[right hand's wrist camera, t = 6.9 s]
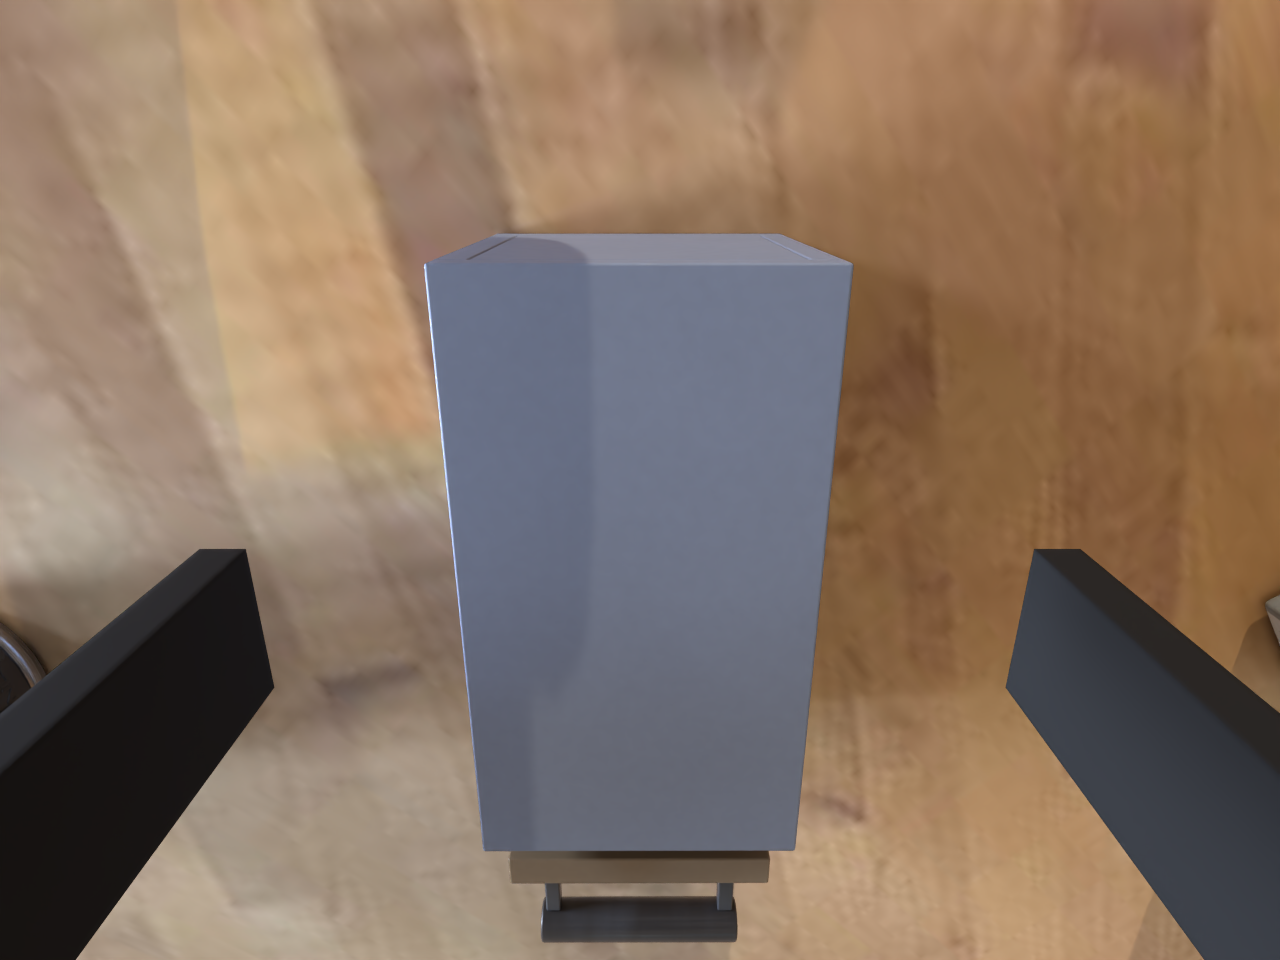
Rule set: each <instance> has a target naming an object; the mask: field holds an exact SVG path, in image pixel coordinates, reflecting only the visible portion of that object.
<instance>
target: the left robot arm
mask: <svg viewBox="0 0 1280 960" xmlns="http://www.w3.org/2000/svg"><path fill="white" fill-rule="evenodd" d="M45 676H46V674H45V672H44V670H43V668H42V666H41V664H40V663H39V661H38V660H37V658H36V657H35V655H34V654H33V653H32V651H31V650H30V649H29V648H28V646H27V645H26V644H25V643H24V642H23V641H22V640H21V639H20V638H19V637H18V636H17V635H16V634H15V633H14V632H12V631H11V630H10V629H9V628H7V627H6V626H5V625H4V624H2V623H1V622H0V713H1V712H3V711H4V710H5V709H6V708H8V707H9V706H10V705H11V704H12V703H14V702H15V701H16V700H17V699H18V698H20V697H21V696H22V695H23V694H25V693H26V692H27V691H28V690H29V689H31V688H32V687H33V686H34V685H35V684H37V683H38V682H39V681H40V680H42V679H43V678H44V677H45Z"/></svg>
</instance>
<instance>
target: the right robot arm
mask: <svg viewBox="0 0 1280 960" xmlns="http://www.w3.org/2000/svg"><path fill="white" fill-rule="evenodd" d="M273 689H274V684H273V679H272V674H271V669H270V664H269V659H268V655H267V650H266V645H265V640H264V635H263V630H262V626H261V621H260V616H259V611H258V606H257V601H256V596H255V592H254V587H253V582H252V577H251V572H250V567H249V563H248V558H247V553H246V549H199V550H198V551H197V552H196V553H194V554H193V555H192V556H191V557H190V558H188V559H187V560H186V561H185V562H183V563H182V564H181V565H180V566H179V567H177V568H176V569H175V570H174V571H173V572H171V573H170V574H169V575H168V576H166V577H165V578H164V579H163V580H162V581H160V582H159V583H158V584H157V585H156V586H154V587H153V588H152V589H151V590H149V591H148V592H147V593H146V594H145V595H143V596H142V597H141V598H140V599H139V600H137V601H136V602H135V603H134V604H133V605H131V606H130V607H129V608H128V609H126V610H125V611H124V612H123V613H122V614H120V615H119V616H118V617H117V618H116V619H114V620H113V621H112V622H111V623H109V624H108V625H107V626H106V627H105V628H103V629H102V630H101V631H100V632H99V633H97V634H96V635H95V636H94V637H92V638H91V639H90V640H89V641H88V642H86V643H85V644H84V645H83V646H82V647H80V648H79V649H78V650H77V651H75V652H74V653H73V654H72V655H71V656H69V657H68V658H67V659H66V660H65V661H63V662H62V663H61V664H60V665H59V666H57V667H56V668H55V669H54V670H52V671H51V672H50V673H49V674H48V675H46V676H45V677H44V678H43V679H42V680H40V681H39V682H38V683H37V684H35V685H34V686H33V687H32V688H31V689H29V690H28V691H27V692H26V693H25V694H23V695H22V696H21V697H20V698H18V699H17V700H16V701H15V702H14V703H12V704H11V705H10V706H9V707H8V708H6V709H5V710H4V711H3V712H1V713H0V960H76V959H77V957H78V956H79V954H80V953H81V952H82V950H83V949H84V948H85V946H86V945H87V944H88V942H89V941H90V939H91V938H92V937H93V935H94V934H95V933H96V931H97V930H98V928H99V927H100V926H101V924H102V923H103V922H104V920H105V919H106V917H107V916H108V915H109V913H110V912H111V911H112V909H113V908H114V907H115V905H116V904H117V902H118V901H119V900H120V898H121V897H122V896H123V894H124V893H125V891H126V890H127V889H128V887H129V886H130V885H131V883H132V882H133V880H134V879H135V878H136V876H137V875H138V874H139V872H140V871H141V870H142V868H143V867H144V865H145V864H146V863H147V861H148V860H149V859H150V857H151V856H152V854H153V853H154V852H155V850H156V849H157V848H158V846H159V845H160V843H161V842H162V841H163V839H164V838H165V837H166V835H167V834H168V832H169V831H170V830H171V828H172V827H173V826H174V824H175V823H176V822H177V820H178V819H179V817H180V816H181V815H182V813H183V812H184V811H185V809H186V808H187V806H188V805H189V804H190V802H191V801H192V800H193V798H194V797H195V795H196V794H197V793H198V791H199V790H200V789H201V787H202V786H203V785H204V783H205V782H206V780H207V779H208V778H209V776H210V775H211V774H212V772H213V771H214V769H215V768H216V767H217V765H218V764H219V763H220V761H221V760H222V758H223V757H224V756H225V754H226V753H227V752H228V750H229V749H230V748H231V746H232V745H233V743H234V742H235V741H236V739H237V738H238V737H239V735H240V734H241V732H242V731H243V730H244V728H245V727H246V726H247V724H248V723H249V721H250V720H251V719H252V717H253V716H254V715H255V713H256V712H257V710H258V709H259V708H260V706H261V705H262V704H263V702H264V701H265V700H266V698H267V697H268V695H269V694H270V693H271V691H272V690H273ZM1006 689H1007V690H1008V691H1009V693H1010V694H1011V695H1012V697H1013V698H1014V700H1015V701H1016V702H1017V704H1018V705H1019V706H1020V708H1021V709H1022V710H1023V712H1024V713H1025V715H1026V716H1027V717H1028V719H1029V720H1030V721H1031V723H1032V724H1033V726H1034V727H1035V728H1036V730H1037V731H1038V732H1039V734H1040V735H1041V737H1042V738H1043V739H1044V741H1045V742H1046V743H1047V745H1048V746H1049V748H1050V749H1051V750H1052V752H1053V753H1054V754H1055V756H1056V757H1057V758H1058V760H1059V761H1060V763H1061V764H1062V765H1063V767H1064V768H1065V769H1066V771H1067V772H1068V774H1069V775H1070V776H1071V778H1072V779H1073V780H1074V782H1075V783H1076V785H1077V786H1078V787H1079V789H1080V790H1081V791H1082V793H1083V794H1084V795H1085V797H1086V798H1087V800H1088V801H1089V802H1090V804H1091V805H1092V806H1093V808H1094V809H1095V811H1096V812H1097V813H1098V815H1099V816H1100V817H1101V819H1102V820H1103V822H1104V823H1105V824H1106V826H1107V827H1108V828H1109V830H1110V831H1111V832H1112V834H1113V835H1114V837H1115V838H1116V839H1117V841H1118V842H1119V843H1120V845H1121V846H1122V848H1123V849H1124V850H1125V852H1126V853H1127V854H1128V856H1129V857H1130V859H1131V860H1132V861H1133V863H1134V864H1135V865H1136V867H1137V868H1138V870H1139V871H1140V872H1141V874H1142V875H1143V876H1144V878H1145V879H1146V880H1147V882H1148V883H1149V885H1150V886H1151V887H1152V889H1153V890H1154V891H1155V893H1156V894H1157V896H1158V897H1159V898H1160V900H1161V901H1162V902H1163V904H1164V905H1165V907H1166V908H1167V909H1168V911H1169V912H1170V913H1171V915H1172V916H1173V917H1174V919H1175V920H1176V922H1177V923H1178V924H1179V926H1180V927H1181V928H1182V930H1183V931H1184V933H1185V934H1186V935H1187V937H1188V938H1189V939H1190V941H1191V942H1192V944H1193V945H1194V946H1195V948H1196V949H1197V950H1198V952H1199V953H1200V954H1201V956H1202V957H1203V959H1204V960H1280V713H1279V712H1277V711H1276V710H1275V709H1274V708H1272V707H1271V706H1270V705H1269V704H1268V703H1266V702H1265V701H1264V700H1263V699H1262V698H1260V697H1259V696H1258V695H1257V694H1255V693H1254V692H1253V691H1252V690H1251V689H1249V688H1248V687H1247V686H1246V685H1245V684H1243V683H1242V682H1241V681H1240V680H1238V679H1237V678H1236V677H1235V676H1234V675H1232V674H1231V673H1230V672H1229V671H1228V670H1226V669H1225V668H1224V667H1223V666H1221V665H1220V664H1219V663H1218V662H1217V661H1215V660H1214V659H1213V658H1212V657H1211V656H1209V655H1208V654H1207V653H1206V652H1205V651H1203V650H1202V649H1201V648H1200V647H1198V646H1197V645H1196V644H1195V643H1194V642H1192V641H1191V640H1190V639H1189V638H1188V637H1186V636H1185V635H1184V634H1183V633H1181V632H1180V631H1179V630H1178V629H1177V628H1175V627H1174V626H1173V625H1172V624H1171V623H1169V622H1168V621H1167V620H1166V619H1164V618H1163V617H1162V616H1161V615H1160V614H1158V613H1157V612H1156V611H1155V610H1154V609H1152V608H1151V607H1150V606H1149V605H1147V604H1146V603H1145V602H1144V601H1143V600H1141V599H1140V598H1139V597H1138V596H1137V595H1135V594H1134V593H1133V592H1132V591H1131V590H1129V589H1128V588H1127V587H1126V586H1124V585H1123V584H1122V583H1121V582H1120V581H1118V580H1117V579H1116V578H1115V577H1114V576H1112V575H1111V574H1110V573H1109V572H1107V571H1106V570H1105V569H1104V568H1103V567H1101V566H1100V565H1099V564H1098V563H1097V562H1095V561H1094V560H1093V559H1092V558H1090V557H1089V556H1088V555H1087V554H1086V553H1084V552H1083V551H1082V550H1081V549H1034V553H1033V558H1032V563H1031V567H1030V572H1029V577H1028V582H1027V587H1026V592H1025V596H1024V601H1023V606H1022V611H1021V616H1020V621H1019V626H1018V630H1017V635H1016V640H1015V645H1014V650H1013V655H1012V659H1011V664H1010V669H1009V674H1008V679H1007V684H1006Z"/></svg>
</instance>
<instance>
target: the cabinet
mask: <svg viewBox="0 0 1280 960" xmlns="http://www.w3.org/2000/svg"><path fill="white" fill-rule="evenodd" d="M424 268H425V278H426V288H427V298H428V308H429V318H430V328H431V338H432V347H433V357H434V367H435V377H436V387H437V397H438V407H439V417H440V426H441V436H442V446H443V456H444V466H445V476H446V486H447V496H448V505H449V515H450V525H451V535H452V545H453V555H454V565H455V575H456V584H457V594H458V604H459V614H460V624H461V634H462V644H463V654H464V663H465V673H466V683H467V693H468V703H469V713H470V723H471V732H472V742H473V752H474V762H475V772H476V782H477V792H478V802H479V811H480V821H481V831H482V841H483V849H484V851H793V850H795V844H796V834H797V824H798V814H799V804H800V794H801V785H802V775H803V765H804V755H805V745H806V735H807V725H808V715H809V705H810V695H811V685H812V675H813V665H814V655H815V645H816V635H817V625H818V615H819V605H820V595H821V585H822V575H823V565H824V555H825V545H826V535H827V525H828V515H829V505H830V495H831V485H832V475H833V465H834V455H835V445H836V435H837V425H838V416H839V406H840V396H841V386H842V376H843V366H844V356H845V346H846V336H847V326H848V316H849V306H850V296H851V286H852V276H853V263H850V262H848V261H845V260H843V259H840V258H838V257H835V256H833V255H830V254H828V253H826V252H823V251H821V250H818V249H816V248H813V247H811V246H808V245H806V244H803V243H801V242H798V241H796V240H793V239H791V238H788V237H786V236H784V235H782V234H496V235H493V236H491V237H489V238H486V239H484V240H481V241H479V242H476V243H474V244H471V245H469V246H466V247H464V248H462V249H459V250H457V251H454V252H452V253H449V254H447V255H444V256H442V257H439V258H437V259H435V260H433V261H430V262H428V263H425V265H424Z"/></svg>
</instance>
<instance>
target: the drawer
mask: <svg viewBox="0 0 1280 960" xmlns="http://www.w3.org/2000/svg"><path fill="white" fill-rule="evenodd" d="M508 862H509V873H510V882H511V883H545V893H546V897H545V898H544V901H543V906H542V917H541V938H542V942H544V943H580V942H736V940H737V912H736V904H735V899H734V897H733V883H767V882H768V878H769V866H770V856H769V851H510V853H509V859H508ZM561 883H717V896H636V897H562V890H561Z"/></svg>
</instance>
